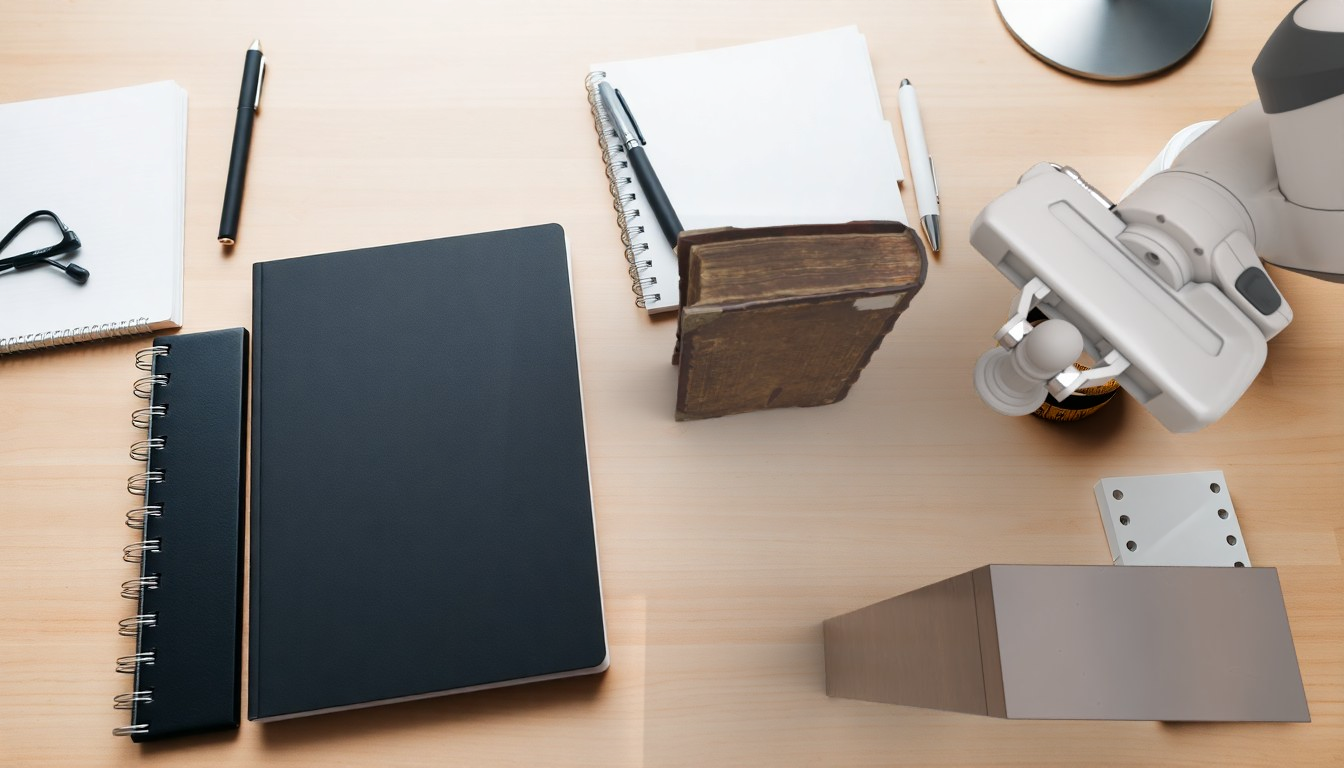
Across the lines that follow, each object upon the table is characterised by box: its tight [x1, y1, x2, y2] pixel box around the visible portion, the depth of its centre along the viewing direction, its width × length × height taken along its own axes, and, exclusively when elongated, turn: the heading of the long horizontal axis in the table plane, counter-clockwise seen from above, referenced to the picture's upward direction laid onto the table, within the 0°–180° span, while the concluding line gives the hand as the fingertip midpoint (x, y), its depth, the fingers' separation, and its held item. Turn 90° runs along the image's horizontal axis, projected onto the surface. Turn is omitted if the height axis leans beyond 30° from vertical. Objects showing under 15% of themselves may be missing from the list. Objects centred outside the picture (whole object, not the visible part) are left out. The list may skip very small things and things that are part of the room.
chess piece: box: [972, 319, 1084, 417], centre depth 56 cm, size 5×5×9 cm
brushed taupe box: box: [822, 563, 1312, 724], centre depth 51 cm, size 12×6×38 cm, turn 89°
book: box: [671, 219, 929, 422], centre depth 65 cm, size 17×7×25 cm, turn 90°
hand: (1028, 366), depth 55 cm, fingers closed on chess piece, 3 cm apart
